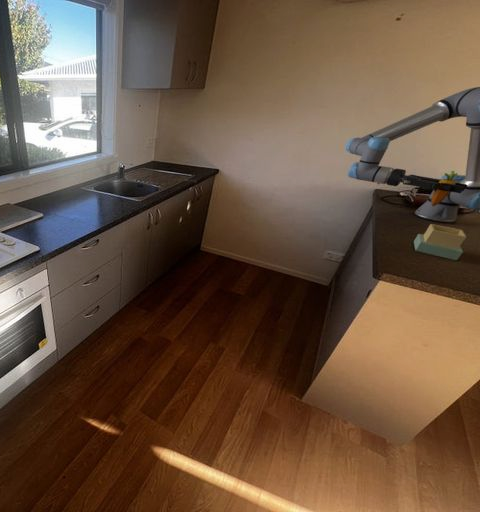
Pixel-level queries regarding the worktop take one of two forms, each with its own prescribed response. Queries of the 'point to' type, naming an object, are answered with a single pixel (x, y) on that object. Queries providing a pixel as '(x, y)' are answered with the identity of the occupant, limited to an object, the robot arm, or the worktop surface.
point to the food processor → (440, 242)
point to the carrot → (442, 194)
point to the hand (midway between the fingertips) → (464, 188)
